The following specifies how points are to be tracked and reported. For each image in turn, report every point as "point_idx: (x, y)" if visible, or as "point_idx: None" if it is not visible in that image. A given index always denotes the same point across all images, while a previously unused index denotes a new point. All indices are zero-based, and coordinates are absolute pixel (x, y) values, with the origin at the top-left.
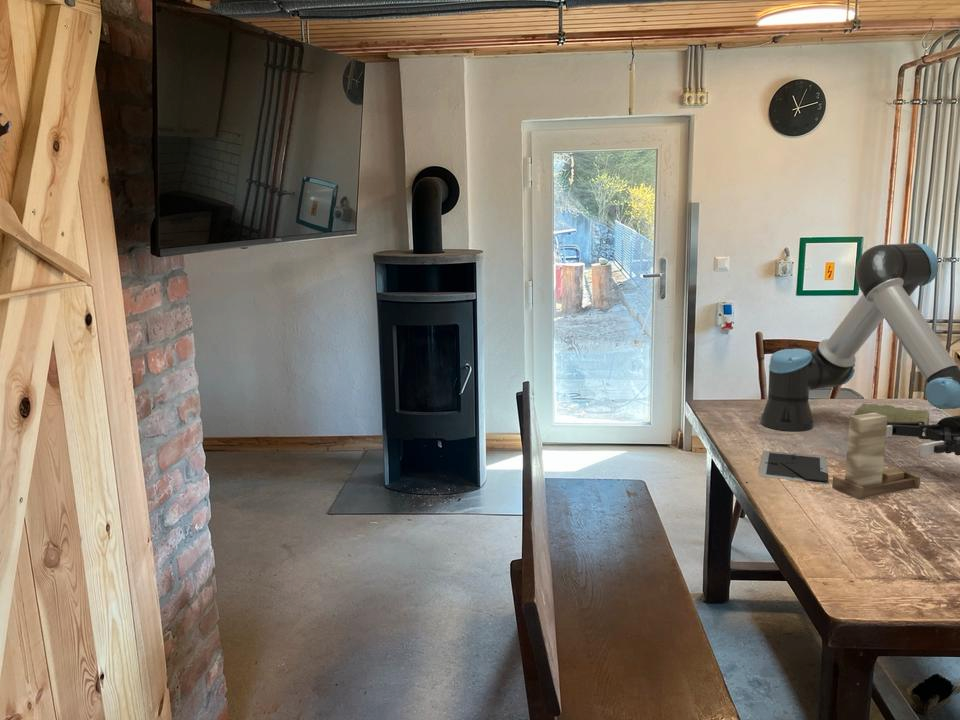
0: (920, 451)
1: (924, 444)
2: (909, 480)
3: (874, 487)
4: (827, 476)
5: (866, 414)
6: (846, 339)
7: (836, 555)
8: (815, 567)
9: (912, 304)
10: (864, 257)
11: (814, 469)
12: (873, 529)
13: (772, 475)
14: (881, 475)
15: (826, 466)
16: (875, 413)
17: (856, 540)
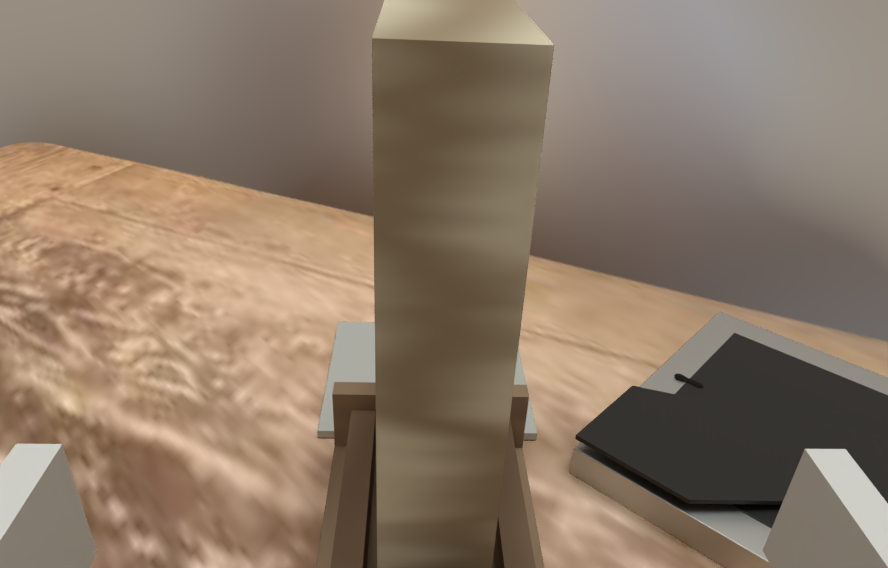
0: (76, 515)
1: (13, 469)
2: None
3: (341, 487)
4: (638, 468)
5: (513, 19)
6: None
7: (141, 219)
8: (145, 182)
9: None
10: None
11: (779, 492)
12: (150, 347)
13: (716, 341)
14: (378, 535)
15: None
16: (517, 39)
17: (148, 279)
